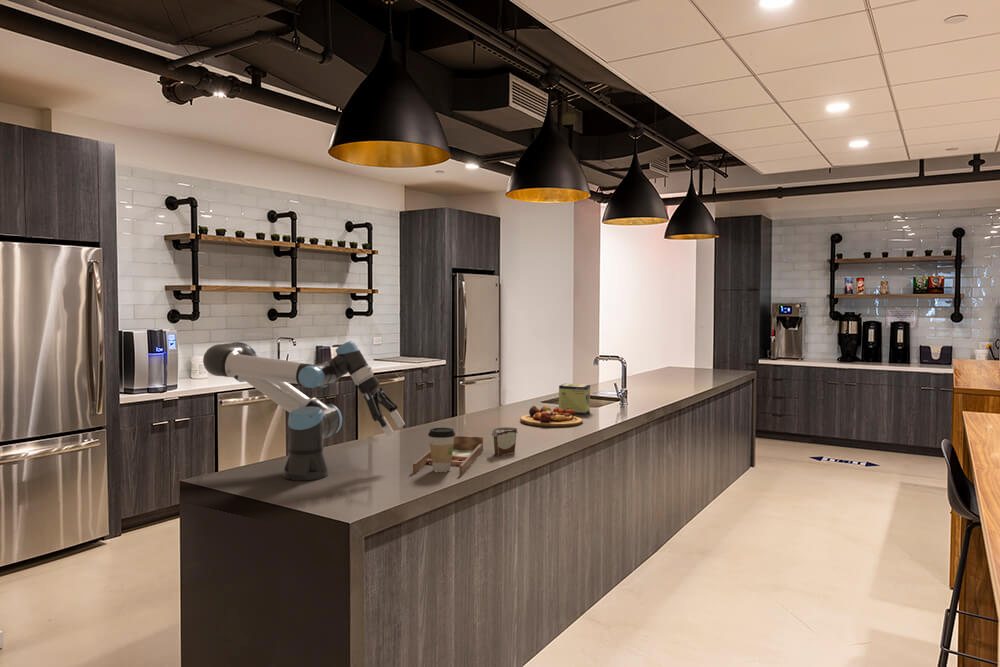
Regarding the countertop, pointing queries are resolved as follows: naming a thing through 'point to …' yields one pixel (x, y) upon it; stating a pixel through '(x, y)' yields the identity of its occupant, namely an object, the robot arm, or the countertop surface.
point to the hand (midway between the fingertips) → (396, 430)
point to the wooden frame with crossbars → (457, 453)
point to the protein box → (575, 398)
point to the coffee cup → (441, 448)
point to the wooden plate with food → (551, 417)
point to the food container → (504, 440)
